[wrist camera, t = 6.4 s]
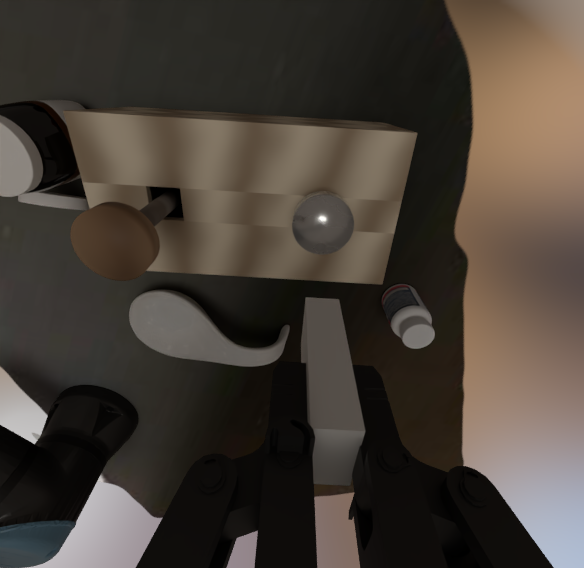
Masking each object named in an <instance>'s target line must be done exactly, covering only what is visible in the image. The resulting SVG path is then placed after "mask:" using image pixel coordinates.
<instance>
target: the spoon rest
mask: <svg viewBox="0 0 584 568" xmlns="http://www.w3.org/2000/svg"><path fill="white" fill-rule="evenodd" d="M129 320H130V324H131V327H132V329H133V331H134V333H135V334H136V336H137V337H138V338H139V339H140V340H141V341H142V342H143V343H144V344H146V345H147V346H149V347H150V348H152V349H154V350H156V351H158V352H160V353H163V354H165V355H169V356H173V357H178V358H184V359H193V360H201V361H209V362H217V363H223V364H230V365H237V366H261V365H266V364H269V363H272V362H274V361H275V360H277V359H278V358H279V357H280V356H281V354H282V352H283V349H284V346H285V343H286V340H287V337H288V333H289V329H290V326H289V325H285V326H284V327H283V328H282V329H281V332H280V334H279V338H278V340H277V341H276V342H275V343H274V344H272V345H270V346H268V347H262V348H249V347H244V346H241V345H238V344H236V343H234V342H232V341H231V340H230V339H228V338H227V337H226V336H225V335H224V334H223V333H222V332H221V331H220V330H219V329H218V327H217V326H216V325H215V324H214V322H213V321H212V320H211V319H210V317H209V316H208V315H207V313H206V312H205V311H204V310H203V308H202V307H201V306H200V305H199V304H198V303H197V302H196V301H194V300H193V299H192V298H190V297H188V296H187V295H185V294H183V293H180V292H177V291H173V290H163V289H162V290H152V291H148V292H145V293H143V294H141V295H139V296H138V297H137V298H136V299H135V300H134V301H133V302H132V304H131V306H130V310H129Z"/></svg>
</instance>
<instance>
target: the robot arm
mask: <svg viewBox="0 0 584 568" xmlns="http://www.w3.org/2000/svg"><path fill="white" fill-rule="evenodd" d="M137 423H138V415H137V412H136V410H135V409H134V407H133V406H132V405H131V404H130V403H129V402H128V401H127V400H126V399H124V398H123V397H122V396H120V395H118V394H116V393H114V392H112V391H110V390H107V389H104V388H100V387H96V386H75V387H71V388H68V389H66V390H65V391H63V392H62V393H61V394H60V395H59V397H58V398H57V399H56V400H55V402H54V403H53V405H52V406H51V409H50V412H49V414H48V417H47V420H46V423H45V425H44V428H43V431H42V434H41V436H40V438H39V439H38V441H37V442H36V443H35V444H33V443H31V442H29V441H28V440H26V439H24V438H23V437H21V436H19V435H17V434H15V433H14V432H12V431H10V430H8V429H7V428H5V427H3V426H1V425H0V568H23V567H31V566H36V565H39V564H43V563H45V562H47V561H49V560H50V559H52V558H53V557H54V556H55V555H56V554H57V553H58V552H59V550H60V548H61V547H62V545H63V544H64V542H65V540H66V538H67V537H68V535H69V533H70V532H71V530H72V529H73V528H74V527H75V525H76V521H77V519H78V517H79V515H80V513H81V511H82V509H83V508H84V506H85V504H86V502H87V500H88V498H89V495H90V494H91V492H92V490H93V488H94V486H95V484H96V482H97V480H98V478H99V477H100V475H101V473H102V471H103V469H104V467H105V465H106V463H107V462H108V460H109V459H110V458H111V457H112V456H113V455H114V454H115V453H116V452H117V451H118V450H119V449H120V448H121V447H122V445H123V444H124V443H125V442H126V441H127V440H128V439H129V438H130V437H131V435H132V434H133V432H134V430H135V428H136V426H137ZM352 478H353V485H354V492H355V493H354V497H353V500H352V503H351V507H350V510H349V519H350V520H352V518H353V516H354V523H355V530H356V538H357V546H358V554H359V561H360V568H553V566H552V565H551V564H550V562H549V561H548V559H547V558H546V557H545V555H544V554H543V553H542V551H541V550H540V548H539V547H538V546H537V544H536V543H535V541H534V540H533V539H532V537H531V536H530V535H529V533H528V532H527V531H526V529H525V528H524V526H523V525H522V523H521V522H520V521H519V519H518V518H517V517H516V515H515V514H514V512H513V511H512V510H511V508H510V507H509V506H508V504H507V503H506V502H505V500H504V499H503V497H502V496H501V494H500V493H499V492H498V490H497V489H496V488H495V486H494V485H493V484H492V483H491V482H490V481H489V480H488V478H487V477H485V476H484V475H483V474H481V473H480V472H478V471H477V470H475V469H472V468H469V467H466V466H456V467H454V468H452V469H450V471H449V472H445V471H442V470H440V469H437V468H434V467H432V466H429V465H426V464H424V463H422V462H420V461H418V460H417V459H416V458H414V457H413V456H412V455H411V454H410V452H409V451H408V450H407V449H406V448H405V447H404V446H403V445H402V442H401V440H400V438H399V434H398V431H397V428H396V424H395V421H394V418H393V414H392V411H391V407H390V404H389V401H388V397H387V394H386V391H385V387H384V384H383V381H382V377H381V376H380V374H379V373H378V372H377V371H376V369H375V368H374V367H373V366H363V365H352V362H351V357H350V352H349V347H348V342H347V337H346V332H345V327H344V322H343V317H342V312H341V307H340V302H339V299H324V298H308V297H306V300H305V310H304V320H303V330H302V340H301V363H298V362H281V361H280V362H279V363H278V365H277V366H276V368H275V369H274V371H273V380H272V391H271V402H270V413H269V423H268V429H267V432H266V439H265V441H264V443H263V444H262V445H261V447H260V448H259V449H257V450H256V451H255V452H253V453H251V454H249V455H246V456H243V457H240V458H236V459H232V460H231V459H230V458H228V457H227V456H225V455H223V454H210V455H206V456H203V457H202V458H200V459H199V460H197V461H196V462H195V463H194V464H193V465H192V467H191V468H190V469H189V471H188V472H187V474H186V476H185V478H184V480H183V482H182V483H181V485H180V487H179V489H178V491H177V493H176V495H175V496H174V498H173V500H172V502H171V504H170V506H169V507H168V509H167V511H166V513H165V515H164V517H163V519H162V520H161V522H160V524H159V526H158V528H157V530H156V532H155V533H154V535H153V537H152V539H151V541H150V543H149V544H148V546H147V548H146V550H145V552H144V554H143V556H142V557H141V559H140V561H139V563H138V565H137V567H136V568H226V567H227V564H228V561H229V558H230V556H231V553H232V550H233V547H234V544H235V541H236V538H238V537H240V536H244V535H246V534H249V533H252V532H255V531H257V530H258V537H257V547H256V558H255V568H317V553H316V530H315V507H314V505H315V504H314V484H328V485H347V486H350V484H351V480H352Z"/></svg>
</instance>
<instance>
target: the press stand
mask: <svg viewBox="0 0 584 568" xmlns="http://www.w3.org/2000/svg"><path fill="white" fill-rule="evenodd" d="M63 113H64V117H65V120H66V124H67V128H68V131H69V135H70V139H71V142H72V146H73V150H74V153H75V157H76V161H77V164H78V168H79V172H80V175H81V179H82V183H83V186H84V190H85V194H86V197H87V201H88V205H89V208H90V209H91V208H93V207H94V206H96V205H98V204H101V203H104V202H120V203H124V204H127V205H130V206H132V207H134V208H136V209H137V210H141V209H142V208H143V207H145V206H146V205H148V204H149V203H151V202H152V201H153V200H155V199H156V198H157V192H156V187H169V188H180V192H181V201H182V209H183V217H184V218H175V217H165V218H164V219H162V220H161V221H160V222H159V223H158V224H157V225H156V226H155V229H156V231H157V233H158V236H159V241H160V249H159V254H158V256H157V258H156V260H155V261H154V262H153V263H152V264H151V265H150V267H149V268H148V269H147V270H146V271H159V272H176V273H193V274H210V275H228V276H245V277H262V278H279V279H297V280H314V281H331V282H348V283H366V284H383V279H384V275H385V271H386V267H387V262H388V258H389V254H390V249H391V245H392V241H393V236H394V232H395V228H396V223H397V219H398V215H399V210H400V206H401V202H402V197H403V193H404V189H405V185H406V180H407V176H408V172H409V167H410V163H411V159H412V154H413V150H414V146H415V141H416V137H417V133H416V132H413V131H409V130H406V129H403V128H399V127H396V126H393V125H389V124H386V123H382V122H366V121H350V120H335V119H319V118H303V117H287V116H271V115H256V114H240V113H224V112H208V111H193V110H177V109H161V108H145V107H117V108H100V109H82V110H64V111H63ZM317 191H330V192H333V193H336V194H338V195H339V196H341V197H342V198H343V199H344V200H345V201H346V202H347V204H348V206H349V208H350V210H351V212H352V215H353V218H354V230H353V233H352V236H351V238H350V240H349V241H348V242H347V244H346V245H345V246H343V247H342V248H341V249H339V250H338V251H336V252H333V253H330V254H324V255H319V254H314V253H311V252H308V251H306V250H305V249H303V248H302V247H301V246H300V245H299V244H298V243H297V241H296V239H295V237H294V234H293V230H292V221H293V214H294V210H295V208H296V206H297V204H298V203H299V202H300V201H301V200H302V199H303V198H304V197H305V196H307V195H309V194H311V193H313V192H317Z"/></svg>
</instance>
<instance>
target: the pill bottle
mask: <svg viewBox="0 0 584 568" xmlns="http://www.w3.org/2000/svg"><path fill="white" fill-rule="evenodd" d="M382 306H383V308H384V311H385V313H386V316H387V318H388V321H389V323H390V326H391V328H392V330H393V332H394V333H395V334H396V335H397V336H399V337H401V339H402V341H403V343H404V344H405V345H406V346H407V347H410V348H414V349H417V348H422V347H425V346H427V345H428V344H430V343H431V342H432V340H433V339H434V336H435V332H434V329H433V328H432V325H431V323H432V318H431V315H430V313H429V311H428V310H427V308H426V306H425V305H424V303H423V301H422V300H421V298H420V296H419V295H418V293H417V292H416V290H415V289H414V288H413V287H412V286H410V285H407V284H397V285H394V286H392V287H390V288H388V289H387V290H386V291H385V293H384V294H383V296H382Z"/></svg>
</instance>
